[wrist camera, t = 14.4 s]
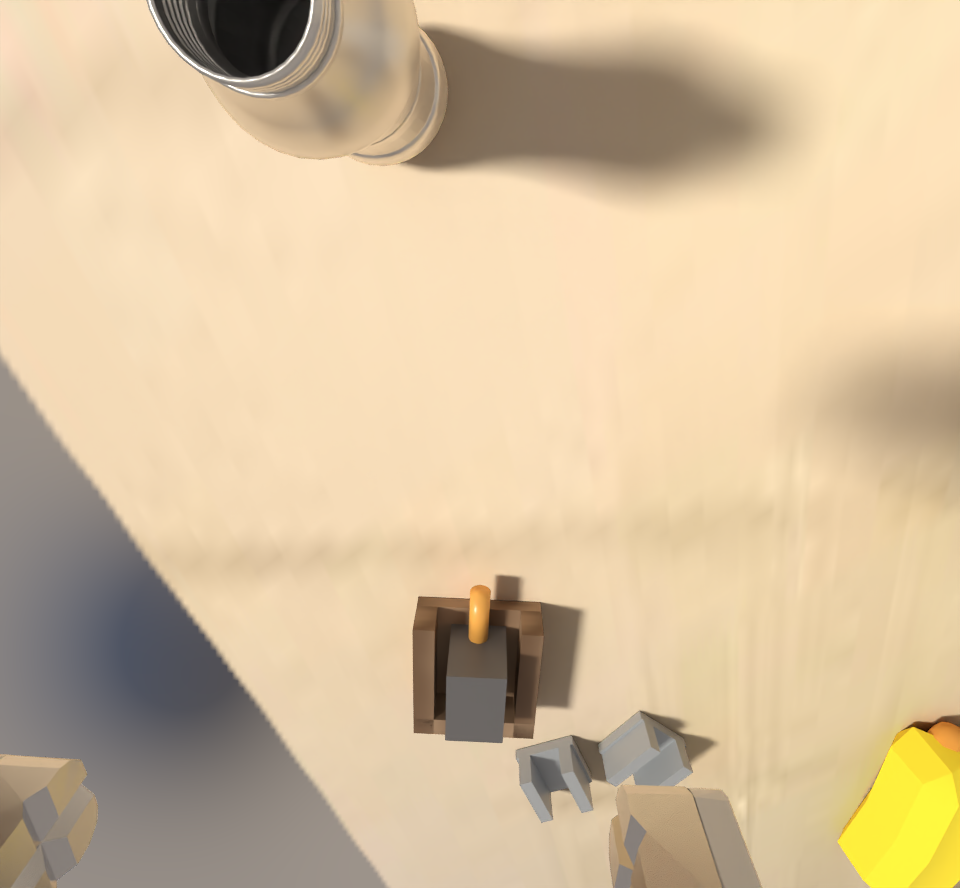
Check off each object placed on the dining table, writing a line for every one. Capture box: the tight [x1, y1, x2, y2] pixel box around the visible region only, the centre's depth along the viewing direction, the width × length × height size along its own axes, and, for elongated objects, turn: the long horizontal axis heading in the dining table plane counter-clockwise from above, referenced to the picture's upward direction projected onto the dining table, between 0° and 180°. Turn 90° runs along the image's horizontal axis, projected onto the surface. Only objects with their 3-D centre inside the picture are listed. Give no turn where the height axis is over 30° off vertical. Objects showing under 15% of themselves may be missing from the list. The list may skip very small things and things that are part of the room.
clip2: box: [516, 735, 593, 823], centre depth 49 cm, size 5×5×3 cm
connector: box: [445, 585, 507, 743], centre depth 42 cm, size 4×10×5 cm, turn 178°
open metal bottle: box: [147, 0, 448, 166], centre depth 21 cm, size 6×7×20 cm
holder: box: [413, 597, 544, 739], centre depth 44 cm, size 9×10×4 cm
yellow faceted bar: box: [838, 722, 960, 888], centre depth 48 cm, size 18×7×8 cm
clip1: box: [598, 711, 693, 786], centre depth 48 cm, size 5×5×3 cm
